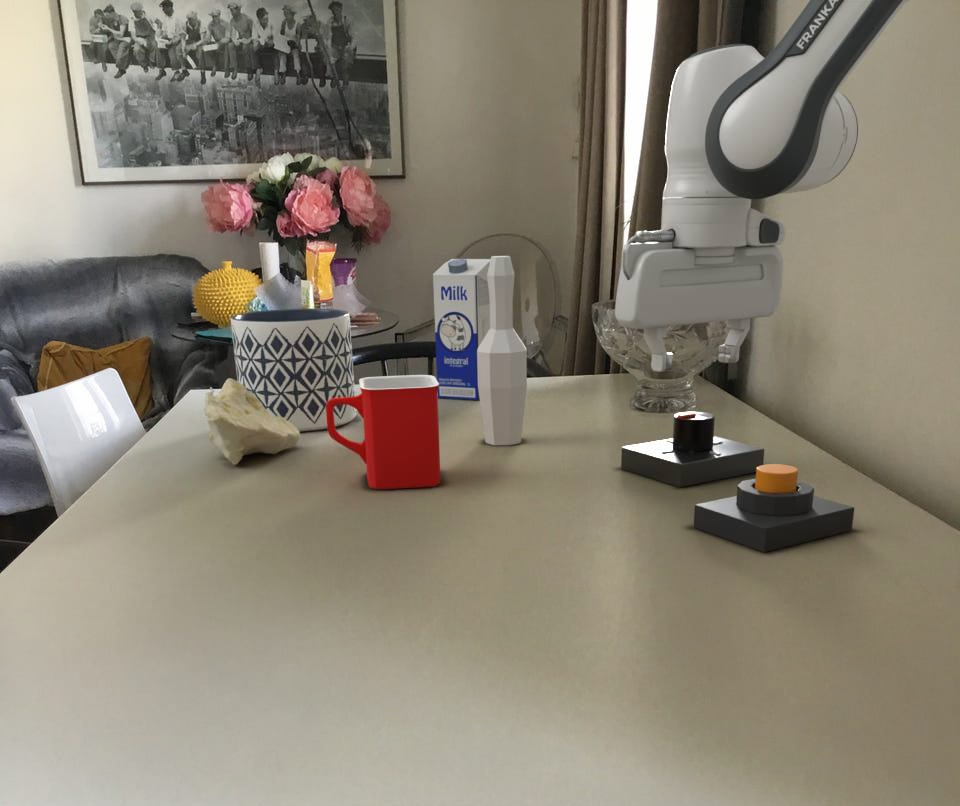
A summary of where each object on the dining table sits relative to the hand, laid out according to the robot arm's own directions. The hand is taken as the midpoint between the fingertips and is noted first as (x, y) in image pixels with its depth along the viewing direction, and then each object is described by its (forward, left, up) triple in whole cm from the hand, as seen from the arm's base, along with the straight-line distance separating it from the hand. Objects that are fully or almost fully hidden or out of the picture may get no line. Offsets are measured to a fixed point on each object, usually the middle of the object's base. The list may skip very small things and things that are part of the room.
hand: (695, 366), depth 113 cm
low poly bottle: (+9, -25, -12) cm, 29 cm away
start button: (+9, +21, -8) cm, 24 cm away
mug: (+30, -16, -12) cm, 36 cm away
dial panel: (0, 0, -11) cm, 11 cm away
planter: (+25, -53, -12) cm, 60 cm away
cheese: (+39, -34, -12) cm, 53 cm away
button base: (+9, +21, -11) cm, 26 cm away
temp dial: (0, 0, -9) cm, 9 cm away
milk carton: (-4, -56, -12) cm, 57 cm away
